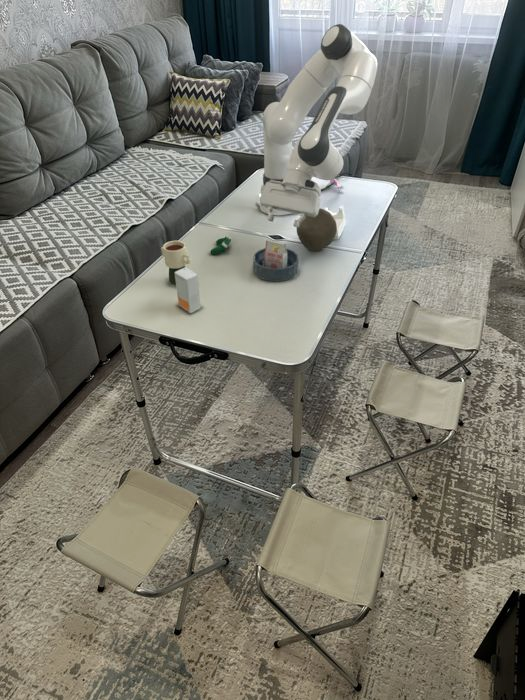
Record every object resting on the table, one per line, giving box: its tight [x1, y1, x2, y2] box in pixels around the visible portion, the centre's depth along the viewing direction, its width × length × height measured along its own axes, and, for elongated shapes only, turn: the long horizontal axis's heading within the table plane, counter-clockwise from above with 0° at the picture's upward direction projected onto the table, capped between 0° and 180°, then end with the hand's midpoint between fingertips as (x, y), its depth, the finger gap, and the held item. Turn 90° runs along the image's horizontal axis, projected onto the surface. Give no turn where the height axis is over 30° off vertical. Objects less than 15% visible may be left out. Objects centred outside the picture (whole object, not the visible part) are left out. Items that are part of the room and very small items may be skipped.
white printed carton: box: [264, 239, 288, 269], centre depth 168 cm, size 4×7×10 cm, turn 65°
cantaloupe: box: [296, 207, 337, 252], centre depth 178 cm, size 14×14×15 cm
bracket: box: [323, 204, 347, 240], centre depth 191 cm, size 13×7×8 cm, turn 161°
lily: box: [323, 177, 342, 193], centre depth 222 cm, size 12×12×10 cm
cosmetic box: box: [175, 267, 202, 314], centre depth 151 cm, size 6×4×12 cm
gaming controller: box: [210, 235, 232, 255], centre depth 182 cm, size 9×4×6 cm
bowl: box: [252, 247, 300, 282], centre depth 170 cm, size 15×15×5 cm
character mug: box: [160, 240, 191, 286], centre depth 162 cm, size 11×7×13 cm, turn 60°
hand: (282, 223), depth 167 cm, fingers open, 8 cm apart
